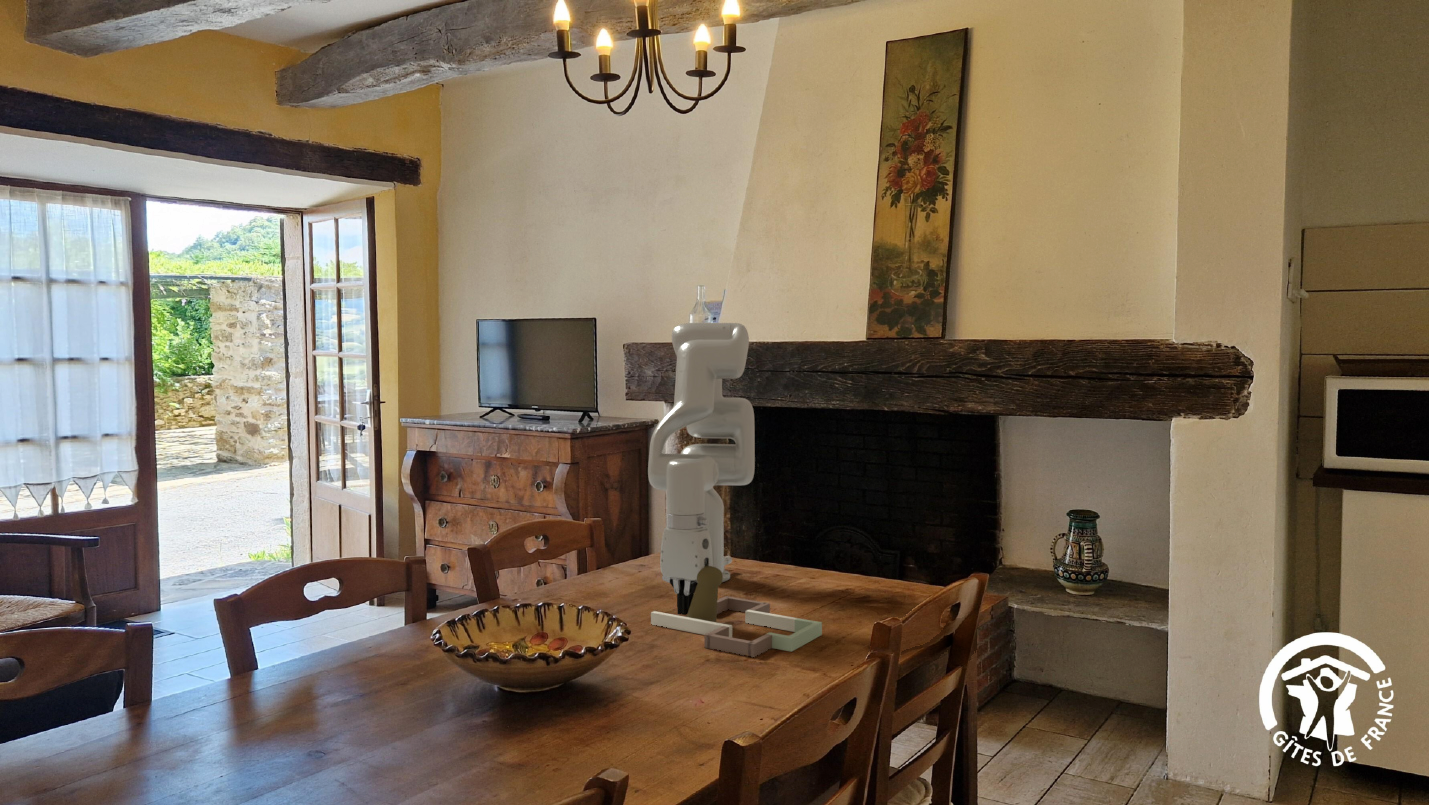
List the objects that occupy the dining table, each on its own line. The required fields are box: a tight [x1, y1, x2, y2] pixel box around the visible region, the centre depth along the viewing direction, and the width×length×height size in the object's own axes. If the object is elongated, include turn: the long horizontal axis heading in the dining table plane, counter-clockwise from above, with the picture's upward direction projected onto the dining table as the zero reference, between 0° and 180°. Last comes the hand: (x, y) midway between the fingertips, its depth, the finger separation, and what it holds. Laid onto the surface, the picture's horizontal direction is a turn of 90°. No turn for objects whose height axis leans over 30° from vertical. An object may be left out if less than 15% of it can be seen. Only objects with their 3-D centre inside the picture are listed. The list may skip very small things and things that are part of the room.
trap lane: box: [650, 595, 823, 658], centre depth 190 cm, size 25×31×2 cm
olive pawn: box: [685, 566, 723, 623], centre depth 193 cm, size 6×6×11 cm
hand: (685, 612), depth 196 cm, fingers closed
